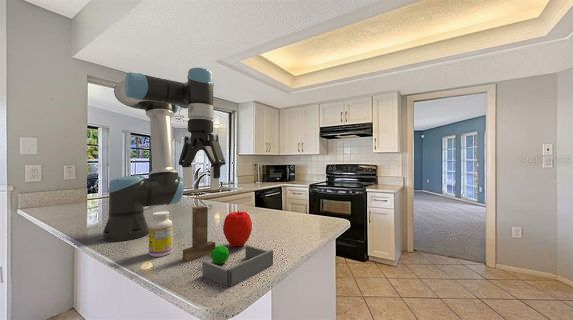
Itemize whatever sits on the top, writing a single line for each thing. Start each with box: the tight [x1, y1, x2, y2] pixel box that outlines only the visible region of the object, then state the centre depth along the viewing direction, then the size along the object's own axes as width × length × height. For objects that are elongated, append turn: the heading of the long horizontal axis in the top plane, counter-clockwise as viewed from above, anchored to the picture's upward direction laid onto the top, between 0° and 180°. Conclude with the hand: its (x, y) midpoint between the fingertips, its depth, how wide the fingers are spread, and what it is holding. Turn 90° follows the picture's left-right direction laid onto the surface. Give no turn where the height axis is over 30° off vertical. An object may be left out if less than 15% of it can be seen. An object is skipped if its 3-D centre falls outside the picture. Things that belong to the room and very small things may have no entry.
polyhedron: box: [210, 245, 230, 265], centre depth 72 cm, size 5×5×5 cm
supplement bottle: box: [148, 210, 173, 258], centre depth 79 cm, size 7×7×13 cm
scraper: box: [182, 205, 216, 263], centre depth 77 cm, size 3×10×15 cm, turn 144°
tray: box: [202, 244, 274, 288], centre depth 67 cm, size 10×16×4 cm, turn 144°
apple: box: [222, 210, 253, 247], centre depth 87 cm, size 10×10×12 cm
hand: (200, 188), depth 77 cm, fingers open, 13 cm apart
